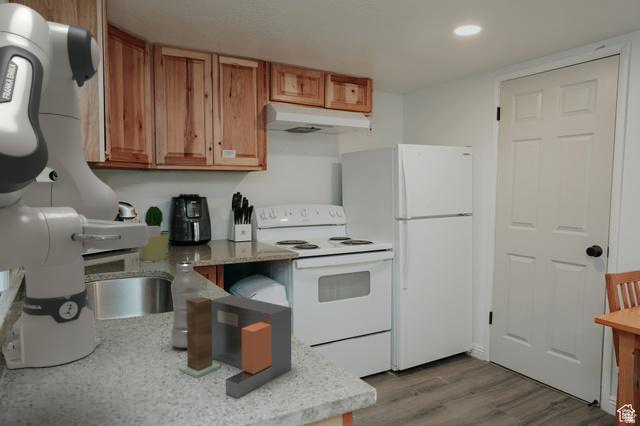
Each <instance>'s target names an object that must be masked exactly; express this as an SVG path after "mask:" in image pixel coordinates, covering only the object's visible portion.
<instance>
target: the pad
mask: <svg viewBox="0 0 640 426" xmlns="http://www.w3.org/2000/svg"><path fill="white" fill-rule="evenodd" d="M218 369H222V364H221V363H220V364H219V363H217V362H215V361H212V366H210V367H207V368H205V369H202V370H200V371H196V370H194V369H191V368H189V367H188V363H187V364H184V365H181V366H179V367H178V371H180V372H182V373H185V374H187V375H190V376H191V377H194V378H196V379H197V378H200V377H203V376H205V375H207V374H210V373H212V372H214V371H217V370H218Z"/></svg>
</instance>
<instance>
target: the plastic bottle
mask: <svg viewBox="0 0 640 426" xmlns="http://www.w3.org/2000/svg"><path fill="white" fill-rule="evenodd" d="M175 271H176V275H175V277H174V278H173V279H172V282H171V285H170V291H171V297H172V304H173V305H172V306H173V322H172V329H171V334H170V338H171V343H172V346H173V347H174V348H176V349H187V300H189V299H193V298H197V297H199V291H200V283H199V280H198V279H197V277H196V276H195V275H194V274H193V271H194V264H193V262H191V261H190V262H189V261H183V262H177V263H176V270H175Z"/></svg>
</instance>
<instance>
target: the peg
mask: <svg viewBox="0 0 640 426" xmlns="http://www.w3.org/2000/svg"><path fill="white" fill-rule="evenodd" d="M211 300H212V298H209V297H208V298H207V297H204V296H198V297H197V298H193V299H189V300H187V348H186V350H187V364H188V367H189V368H191V369H194V370H196V371H200V370H202V369H205V368H207V367H210V366H212V362H213V359H212V303H211Z"/></svg>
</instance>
